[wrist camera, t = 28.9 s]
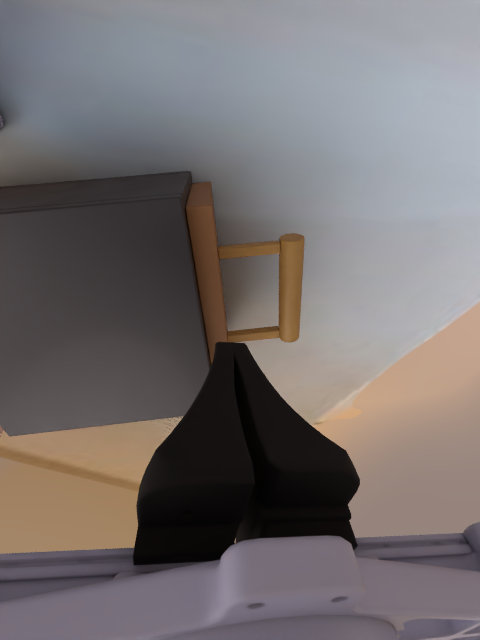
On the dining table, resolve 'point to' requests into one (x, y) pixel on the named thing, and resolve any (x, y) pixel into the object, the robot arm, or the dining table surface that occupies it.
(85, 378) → the cabinet
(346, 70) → the dining table surface
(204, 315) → the drawer
